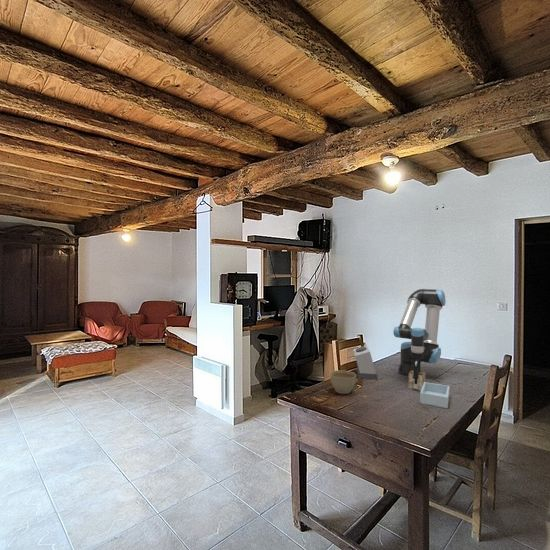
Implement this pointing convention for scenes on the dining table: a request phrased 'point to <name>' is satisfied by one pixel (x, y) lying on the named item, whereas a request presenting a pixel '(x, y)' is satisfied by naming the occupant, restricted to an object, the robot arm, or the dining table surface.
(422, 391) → the light blue crate
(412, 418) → the dining table surface
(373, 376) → the alarm clock
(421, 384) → the birch crate
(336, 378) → the planter bowl
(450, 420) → the dining table surface
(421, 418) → the dining table surface
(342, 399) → the dining table surface
